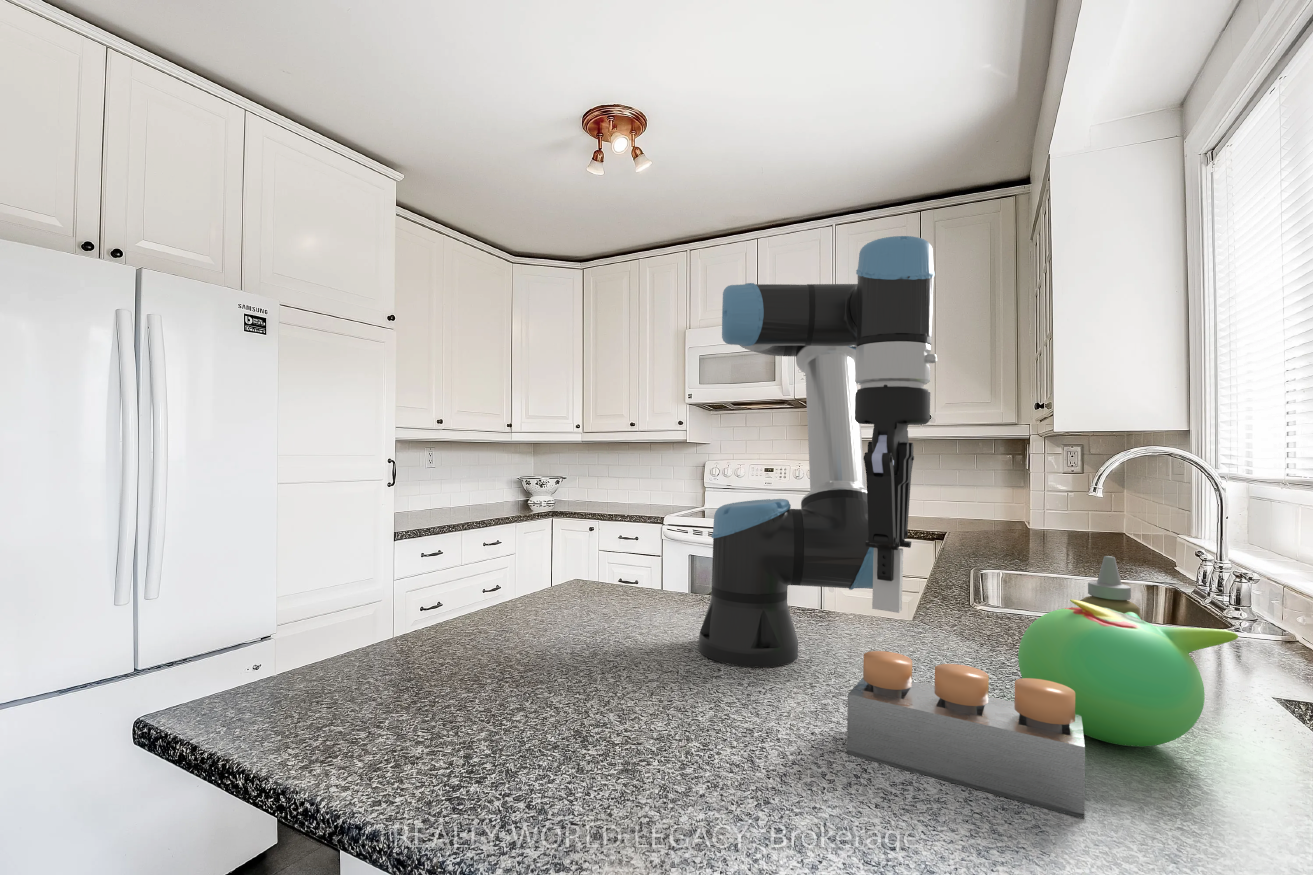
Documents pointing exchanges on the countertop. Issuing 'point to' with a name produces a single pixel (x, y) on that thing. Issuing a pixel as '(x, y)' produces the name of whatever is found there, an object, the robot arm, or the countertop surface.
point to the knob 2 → (1045, 703)
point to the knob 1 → (887, 672)
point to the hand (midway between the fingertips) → (887, 609)
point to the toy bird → (1121, 671)
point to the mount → (970, 746)
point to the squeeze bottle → (1110, 590)
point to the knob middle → (961, 687)
